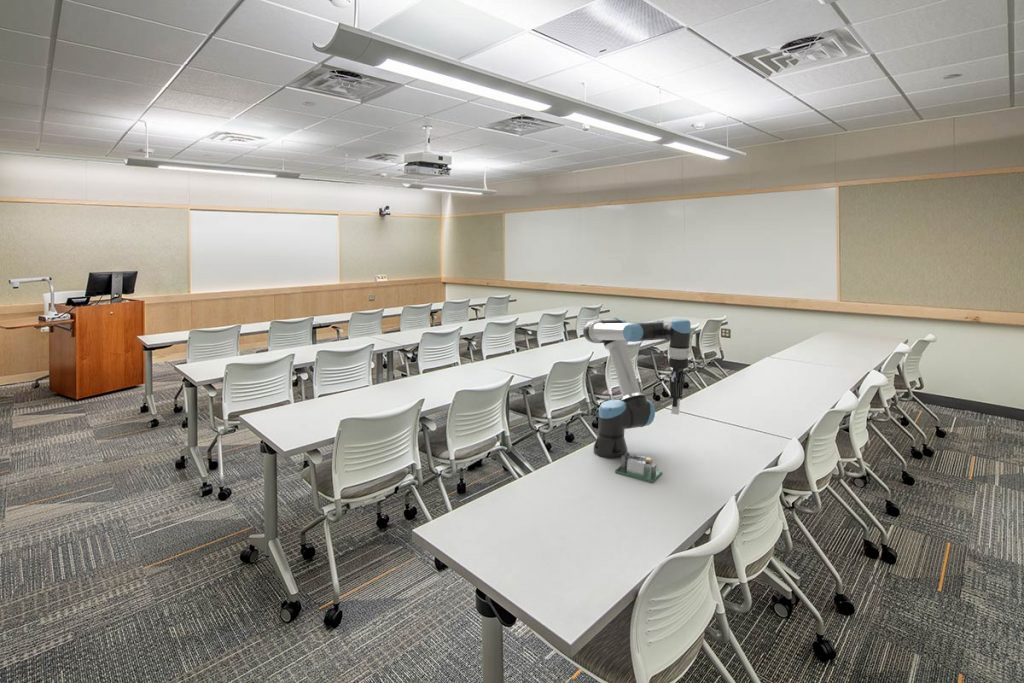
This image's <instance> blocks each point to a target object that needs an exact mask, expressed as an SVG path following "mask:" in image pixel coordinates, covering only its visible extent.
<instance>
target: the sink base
mask: <svg viewBox="0 0 1024 683" xmlns="http://www.w3.org/2000/svg"><path fill="white" fill-rule="evenodd" d="M625 455H629V456H631V454H630V453H629V452H627V453H625ZM632 456H633V457H638V458H642V459H646V460H647V459H648V458H650V459H652V458H651V457H647V456H644V455H639V454H636V453H634V454H633V455H632ZM620 459H621V461H620V462H621V464H620V466H619V467H618V468H616V469H615V471H614V473H615V474H619V475H620V476H621V475H622V476H625V477H629V478H634V479H636V480H641V481H643V482H648V483H651V484H653V483H654V482H655V481H657V479H658V478H659V477H660V476H661V475H662V474H663V471H662V470H660V469H657V464H656V463H651V464H650V465H649V464H646V462H643V461H639V460H635V459H631V458H629V459H626V456H623V455H622V458H620Z"/></svg>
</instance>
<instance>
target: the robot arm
mask: <svg viewBox="0 0 1024 683" xmlns="http://www.w3.org/2000/svg"><path fill="white" fill-rule="evenodd" d="M691 325H692V324H691V321H690V320H688V319H683V318H674V319H671V322H670V321H665V320H661V319H660V320H657V319H656V320H654V321H651V322H627V320H625V319H623V318H620V317H619V318H618V317H613V318H612V317H611V318H597V319H591V320H589V321H587V322H586V323H585V324H584V326H583V329H582V330H583V331H582V332H583V336H584V339H585V340H586V341H588V342H590V343H593V344H603V345H604V346H603V347H604V349H606V350H607V351H608V353H609V354H610V359H611V362H612V366H613V369H614V372H615V373H614V374H615V376H616V380H617V382H618V383H617V384H618V387H619V390H620V394H621V397H622V398H621V399H619V400H618V399H615V400H614V399H610V400H605V401H603V402H602V403H601V404H600V405H599V408H598V409H599V410H598V413H597V414H598V425H597V426H598V428H597V432H598V433H597V436H596V440H595V442H594V444H593V453H594V454H595V455H596V456H599V457H601V458H603V459H604V458H605V459H621V458H622V455H623V456H625V453H628V445H627V442H626V439H625V430H629V429H634V428H635V429H636V428H643V427H646V426H650V425H651V424H652V423H653V422H654V419H655V416H656V410H655V409H656V408H655V406H654V404H653V402H652V401H651V400H649V399H647V397H646V395H645V394H644V393H642V392H641V389H640V387H639V386H640V385H639V383H638V380H637V376H636V373H635V369H634V366H633V363H632V360H631V357H630V353H629V350H628V346H627V345H628V343H635V342H645V341H646V342H647V341H657V340H658V341H659V340H663V341H669V352H668V356H669V358H668V367H670V368H672V370H671V373H670V374H671V376H669V378H668V379H669V392H670V395H669V396H670V397H669V398H670V399H671V414H673V415H680V406H681V399H683V390H684V383H685V376H686V374H687V373H686V372H685V369H687V368H688V367H689V356H690V353H691V351H690V342H691V332H692V330H691V329H692V327H691Z"/></svg>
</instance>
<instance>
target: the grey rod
mask: <svg viewBox="0 0 1024 683" xmlns="http://www.w3.org/2000/svg"><path fill="white" fill-rule="evenodd" d="M625 456H626V459H629V458H631V459H635V460H639V461H643V462H646V464H649V465H650V464H651V465H652V464H653V458H651V457H649V458H648V459H647V460H646V459H642V458H638V457H633V455H625ZM650 458H651V459H650Z"/></svg>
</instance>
